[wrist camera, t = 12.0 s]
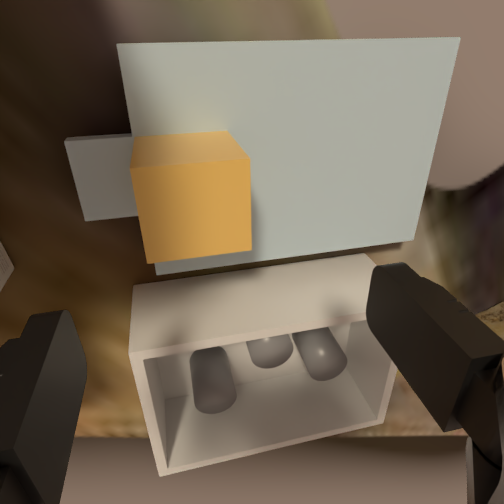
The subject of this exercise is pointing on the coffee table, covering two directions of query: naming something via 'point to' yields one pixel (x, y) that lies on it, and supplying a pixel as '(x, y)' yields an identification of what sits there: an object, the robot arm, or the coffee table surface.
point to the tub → (256, 360)
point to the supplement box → (4, 266)
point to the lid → (268, 146)
